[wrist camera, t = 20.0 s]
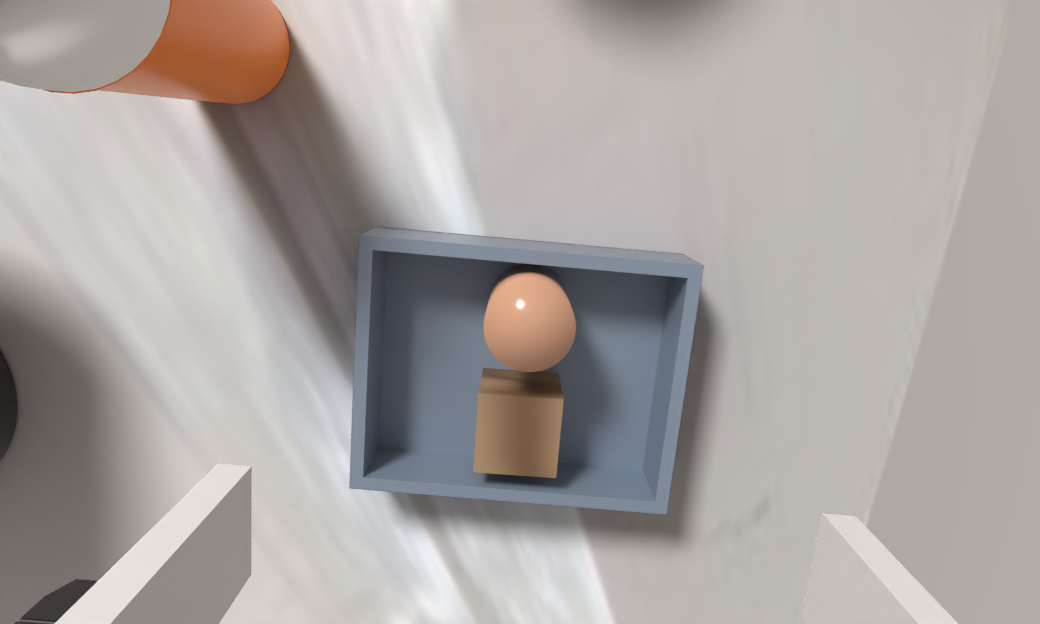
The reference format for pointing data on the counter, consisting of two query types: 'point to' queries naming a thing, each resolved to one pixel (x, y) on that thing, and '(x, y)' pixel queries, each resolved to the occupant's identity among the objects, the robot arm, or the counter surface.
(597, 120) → the counter surface
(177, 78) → the shaker bottle
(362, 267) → the tote
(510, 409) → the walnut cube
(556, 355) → the peach capsule pill
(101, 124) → the counter surface
